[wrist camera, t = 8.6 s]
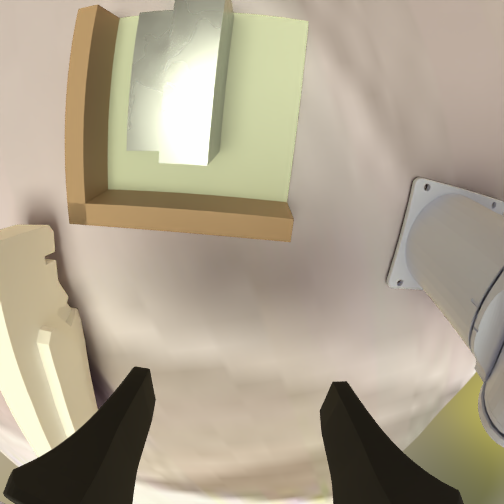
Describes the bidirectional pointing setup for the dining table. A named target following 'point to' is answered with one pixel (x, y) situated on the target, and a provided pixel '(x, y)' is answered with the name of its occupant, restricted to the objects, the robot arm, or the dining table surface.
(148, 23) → the angle bracket
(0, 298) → the shelf bracket
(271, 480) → the dining table surface
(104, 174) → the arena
